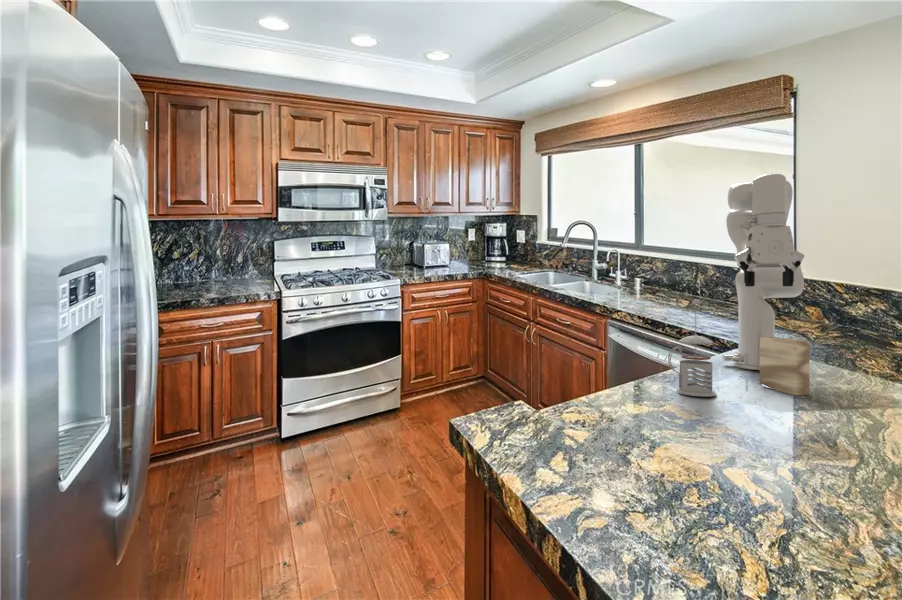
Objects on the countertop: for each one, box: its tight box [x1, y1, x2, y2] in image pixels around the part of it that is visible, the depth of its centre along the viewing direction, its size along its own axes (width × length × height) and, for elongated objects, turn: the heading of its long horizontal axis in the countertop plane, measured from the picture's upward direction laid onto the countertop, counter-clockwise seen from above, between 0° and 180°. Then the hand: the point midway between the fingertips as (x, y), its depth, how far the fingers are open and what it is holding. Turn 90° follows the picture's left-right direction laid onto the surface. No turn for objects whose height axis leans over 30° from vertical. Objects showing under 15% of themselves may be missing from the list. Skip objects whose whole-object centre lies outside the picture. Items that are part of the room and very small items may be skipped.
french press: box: [667, 298, 718, 397], centre depth 123 cm, size 10×12×25 cm
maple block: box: [759, 336, 811, 396], centre depth 125 cm, size 4×12×14 cm, turn 6°
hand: (768, 286), depth 122 cm, fingers open, 9 cm apart
